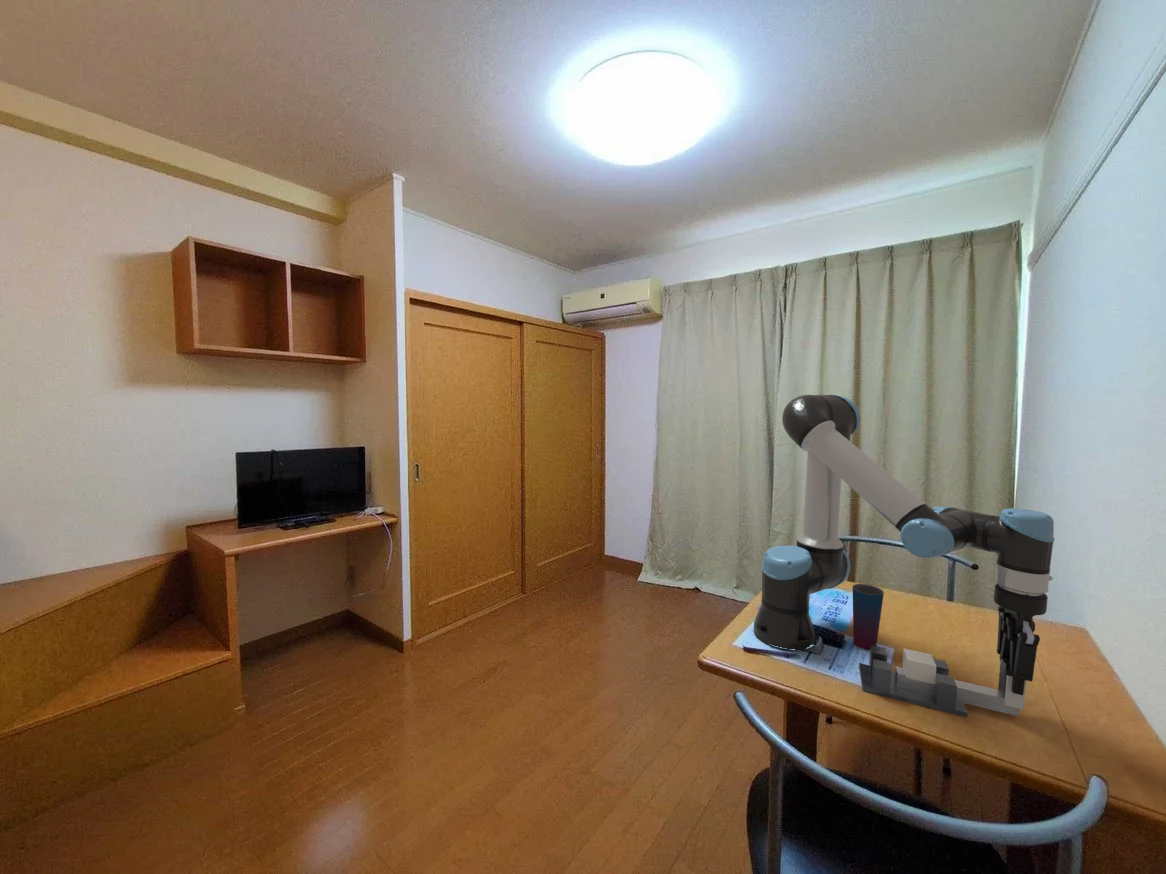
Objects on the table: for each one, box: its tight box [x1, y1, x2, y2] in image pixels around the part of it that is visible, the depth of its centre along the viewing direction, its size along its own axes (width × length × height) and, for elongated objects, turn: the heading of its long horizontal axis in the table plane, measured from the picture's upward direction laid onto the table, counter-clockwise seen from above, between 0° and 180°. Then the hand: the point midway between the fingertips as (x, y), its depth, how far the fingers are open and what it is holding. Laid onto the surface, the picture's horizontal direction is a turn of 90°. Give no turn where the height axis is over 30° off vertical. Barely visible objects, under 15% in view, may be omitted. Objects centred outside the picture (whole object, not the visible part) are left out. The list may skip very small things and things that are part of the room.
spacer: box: [902, 648, 936, 684], centre depth 98 cm, size 5×5×4 cm
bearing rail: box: [858, 645, 969, 718], centre depth 99 cm, size 18×10×6 cm, turn 62°
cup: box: [852, 583, 885, 651], centre depth 117 cm, size 7×7×15 cm
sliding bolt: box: [895, 657, 1020, 717], centre depth 95 cm, size 20×3×10 cm, turn 62°
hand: (1010, 700), depth 91 cm, fingers closed on sliding bolt, 3 cm apart
